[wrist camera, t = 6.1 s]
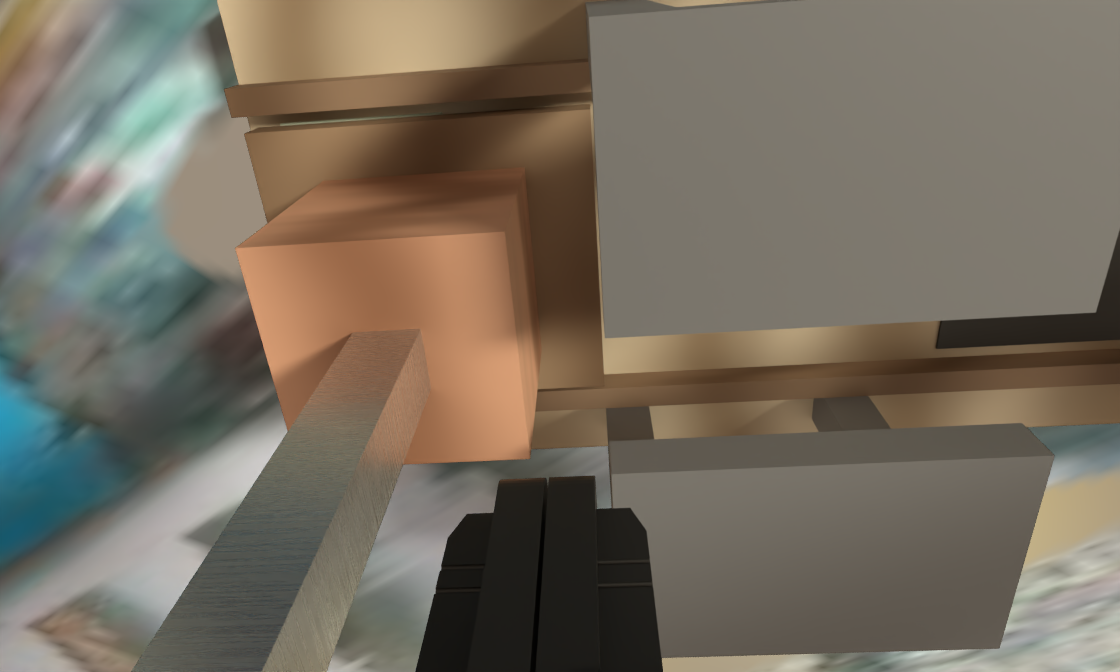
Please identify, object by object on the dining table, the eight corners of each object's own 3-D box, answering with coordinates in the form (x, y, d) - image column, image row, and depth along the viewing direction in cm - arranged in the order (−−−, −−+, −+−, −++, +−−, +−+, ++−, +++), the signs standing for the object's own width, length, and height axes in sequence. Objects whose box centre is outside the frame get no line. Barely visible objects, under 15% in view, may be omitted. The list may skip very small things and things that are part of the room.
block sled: (589, 103, 21) (615, 429, 6) (603, 371, 25) (640, 986, 10) (258, 127, 21) (-537, 482, 6) (323, 385, 25) (-63, 988, 10)
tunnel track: (1274, -85, 20) (2024, -161, 10) (1118, 400, 27) (1453, 659, 17) (239, -1, 22) (-75, 13, 11) (346, 435, 29) (214, 691, 18)
